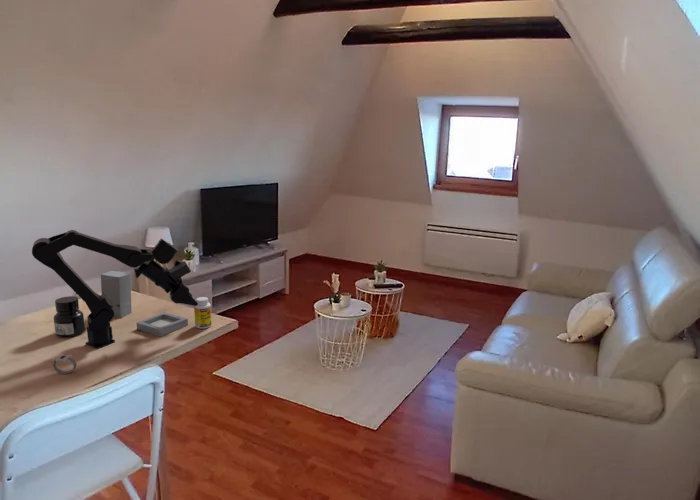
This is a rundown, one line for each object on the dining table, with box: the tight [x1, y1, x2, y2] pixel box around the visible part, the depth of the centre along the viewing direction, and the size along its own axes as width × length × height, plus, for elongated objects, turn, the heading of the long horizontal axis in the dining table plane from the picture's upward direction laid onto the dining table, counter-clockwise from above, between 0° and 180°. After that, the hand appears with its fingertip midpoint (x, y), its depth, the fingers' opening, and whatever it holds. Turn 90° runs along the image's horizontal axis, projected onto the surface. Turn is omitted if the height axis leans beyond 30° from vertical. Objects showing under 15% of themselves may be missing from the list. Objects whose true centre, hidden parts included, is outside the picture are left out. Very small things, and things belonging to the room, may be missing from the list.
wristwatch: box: [52, 354, 77, 375], centre depth 152 cm, size 6×3×5 cm, turn 92°
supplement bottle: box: [193, 296, 212, 330], centre depth 186 cm, size 6×6×10 cm
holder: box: [136, 311, 189, 337], centre depth 186 cm, size 12×12×2 cm
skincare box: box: [100, 270, 132, 319], centre depth 196 cm, size 8×7×16 cm
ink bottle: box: [53, 295, 86, 339], centre depth 179 cm, size 10×9×12 cm
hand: (194, 300), depth 183 cm, fingers open, 9 cm apart
